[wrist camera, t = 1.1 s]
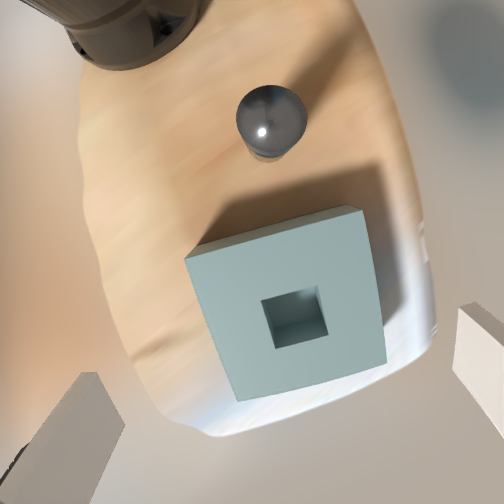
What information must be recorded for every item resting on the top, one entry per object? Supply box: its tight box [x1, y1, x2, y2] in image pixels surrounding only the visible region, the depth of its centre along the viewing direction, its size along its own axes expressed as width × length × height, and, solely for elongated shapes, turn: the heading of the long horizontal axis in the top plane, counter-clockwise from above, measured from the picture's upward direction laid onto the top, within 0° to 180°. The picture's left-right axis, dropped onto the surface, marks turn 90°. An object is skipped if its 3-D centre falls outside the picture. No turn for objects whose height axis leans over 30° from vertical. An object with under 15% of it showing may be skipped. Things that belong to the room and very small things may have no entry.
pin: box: [236, 85, 307, 162], centre depth 24 cm, size 4×4×14 cm
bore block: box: [184, 204, 387, 402], centre depth 32 cm, size 16×16×6 cm
